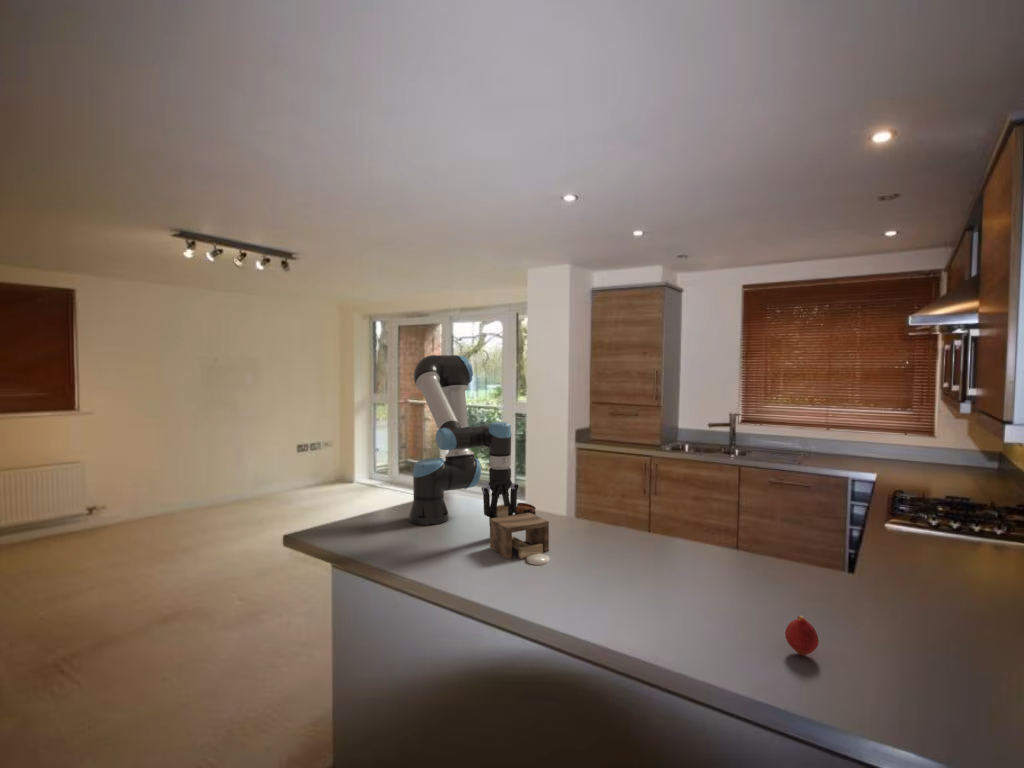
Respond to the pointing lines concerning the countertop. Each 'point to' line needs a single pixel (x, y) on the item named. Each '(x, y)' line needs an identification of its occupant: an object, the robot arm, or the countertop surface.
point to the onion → (801, 636)
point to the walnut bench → (506, 525)
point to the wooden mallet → (519, 545)
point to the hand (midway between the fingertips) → (500, 534)
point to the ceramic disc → (538, 559)
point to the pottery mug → (525, 508)
